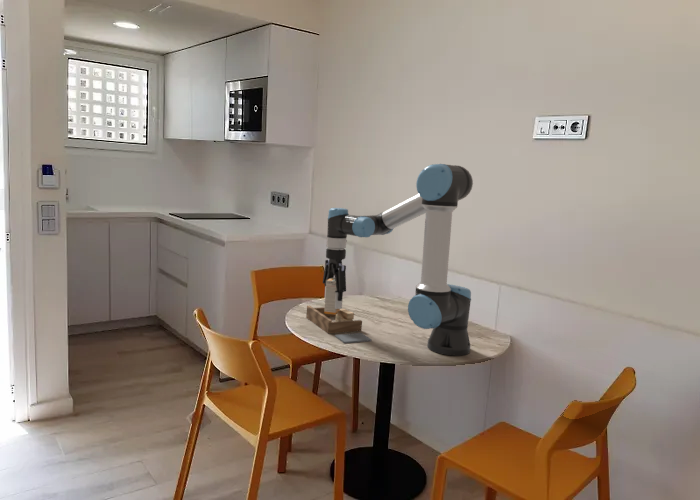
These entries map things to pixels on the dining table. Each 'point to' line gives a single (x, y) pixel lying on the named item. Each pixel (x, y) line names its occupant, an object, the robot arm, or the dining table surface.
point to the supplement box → (330, 297)
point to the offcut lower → (340, 319)
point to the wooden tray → (327, 325)
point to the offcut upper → (345, 314)
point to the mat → (353, 338)
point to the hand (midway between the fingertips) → (332, 305)
